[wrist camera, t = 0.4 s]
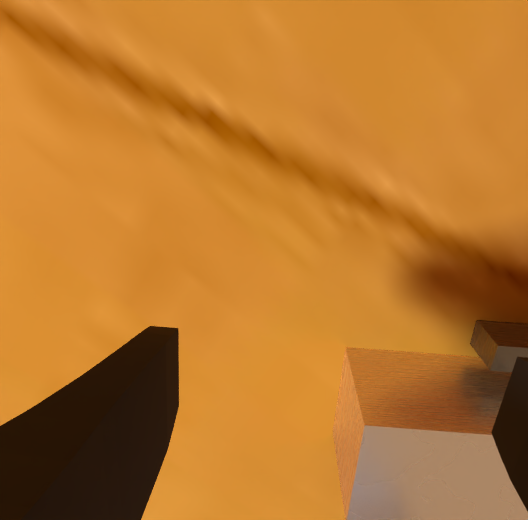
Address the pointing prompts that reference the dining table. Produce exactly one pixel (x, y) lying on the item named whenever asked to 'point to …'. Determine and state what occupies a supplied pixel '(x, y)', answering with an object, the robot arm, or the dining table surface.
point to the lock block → (421, 438)
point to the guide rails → (500, 343)
